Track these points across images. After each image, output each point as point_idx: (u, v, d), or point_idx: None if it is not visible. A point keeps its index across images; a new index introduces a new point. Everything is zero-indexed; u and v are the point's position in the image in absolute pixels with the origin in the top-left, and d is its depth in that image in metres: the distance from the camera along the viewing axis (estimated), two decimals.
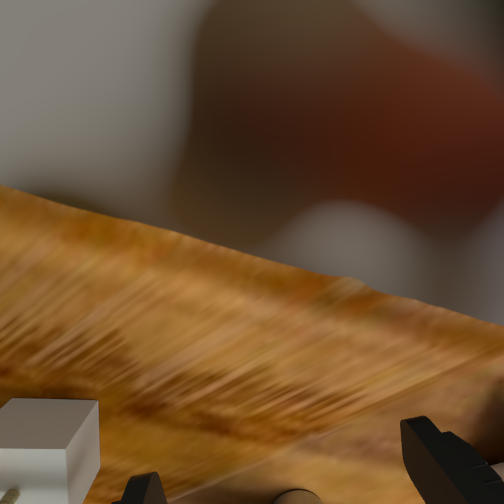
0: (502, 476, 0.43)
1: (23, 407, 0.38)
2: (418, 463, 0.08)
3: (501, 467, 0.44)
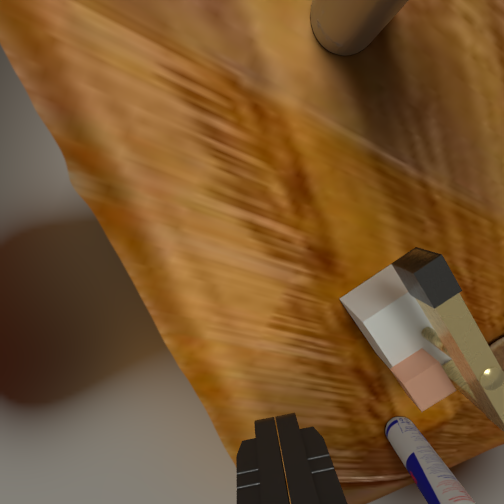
0: None
1: (373, 347, 0.43)
2: None
3: None
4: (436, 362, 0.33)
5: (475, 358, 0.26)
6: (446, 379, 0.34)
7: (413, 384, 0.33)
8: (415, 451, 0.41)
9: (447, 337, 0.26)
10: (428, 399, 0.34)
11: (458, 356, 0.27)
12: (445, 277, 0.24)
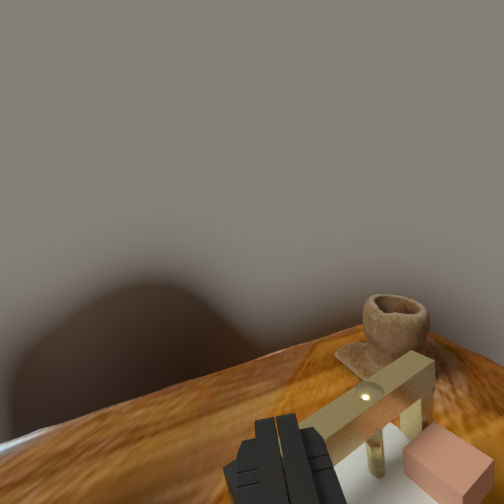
0: None
1: None
2: None
3: None
4: (405, 451, 0.26)
5: (349, 410, 0.23)
6: (423, 435, 0.27)
7: (454, 478, 0.23)
8: None
9: (336, 444, 0.22)
10: (467, 453, 0.24)
11: (358, 427, 0.23)
12: None
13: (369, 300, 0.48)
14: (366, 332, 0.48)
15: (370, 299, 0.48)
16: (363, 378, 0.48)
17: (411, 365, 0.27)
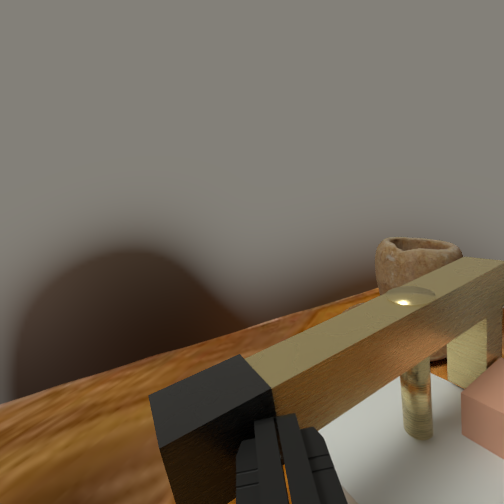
0: None
1: None
2: None
3: None
4: (465, 395, 0.16)
5: (380, 316, 0.14)
6: (490, 374, 0.17)
7: None
8: None
9: (358, 364, 0.12)
10: None
11: (396, 343, 0.13)
12: (202, 381, 0.11)
13: (383, 241, 0.39)
14: (380, 281, 0.38)
15: (385, 240, 0.39)
16: None
17: (471, 268, 0.17)
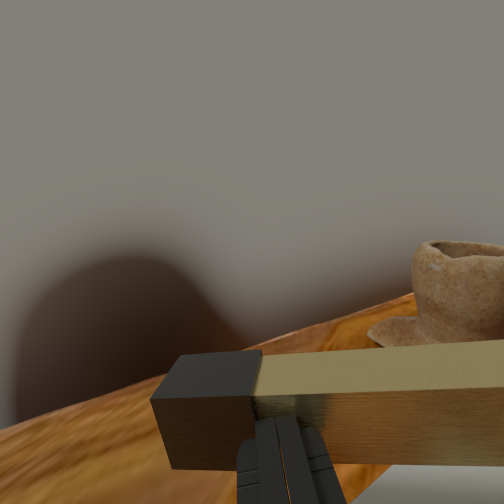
0: None
1: None
2: None
3: None
4: None
5: (459, 371, 0.09)
6: None
7: None
8: None
9: (388, 419, 0.09)
10: None
11: (476, 419, 0.09)
12: (216, 361, 0.12)
13: (423, 246, 0.32)
14: (420, 294, 0.32)
15: (424, 244, 0.32)
16: None
17: None
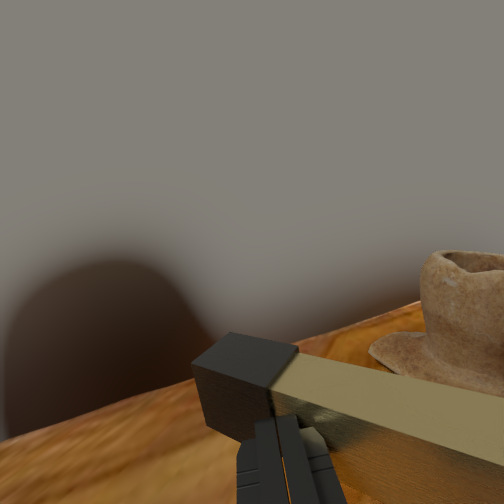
0: None
1: None
2: None
3: None
4: None
5: None
6: None
7: None
8: None
9: (409, 466, 0.08)
10: None
11: None
12: (253, 345, 0.13)
13: (435, 257, 0.28)
14: (431, 311, 0.28)
15: (436, 255, 0.29)
16: None
17: None
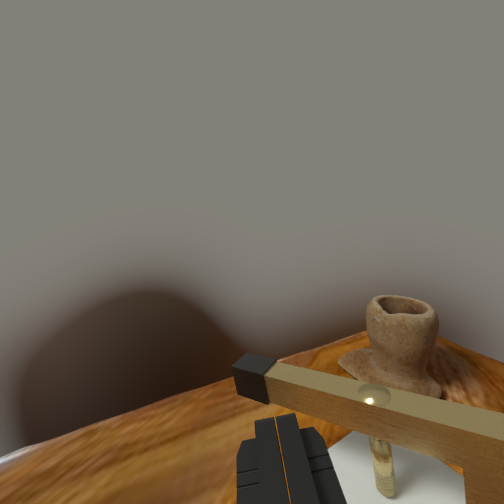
0: None
1: None
2: None
3: None
4: None
5: (335, 388, 0.23)
6: None
7: None
8: None
9: (306, 397, 0.24)
10: None
11: (334, 406, 0.23)
12: (257, 359, 0.30)
13: (372, 301, 0.45)
14: (370, 336, 0.45)
15: (373, 300, 0.45)
16: None
17: (463, 419, 0.18)
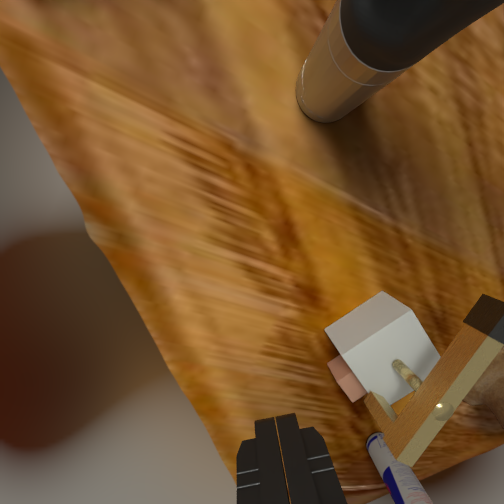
0: None
1: None
2: None
3: None
4: (336, 380, 0.45)
5: (455, 389, 0.31)
6: (345, 392, 0.45)
7: None
8: (390, 465, 0.46)
9: (455, 362, 0.32)
10: None
11: (442, 380, 0.32)
12: None
13: None
14: None
15: None
16: None
17: (413, 448, 0.32)
